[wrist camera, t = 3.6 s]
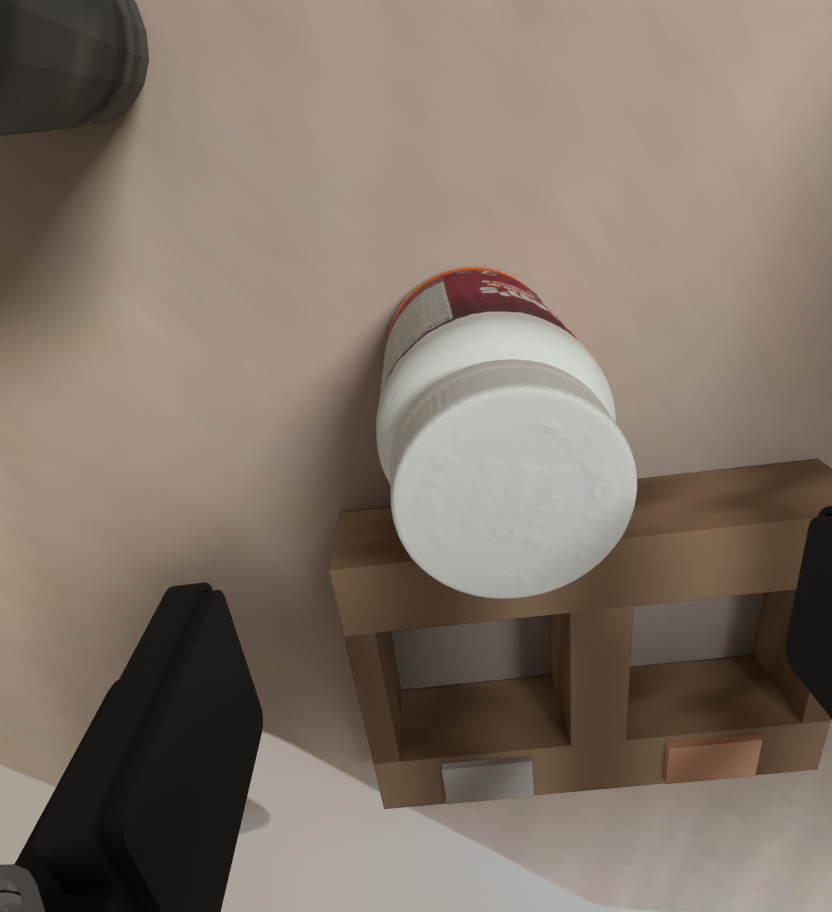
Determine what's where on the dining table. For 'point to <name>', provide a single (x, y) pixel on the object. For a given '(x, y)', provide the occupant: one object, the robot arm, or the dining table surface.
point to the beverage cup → (68, 62)
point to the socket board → (596, 653)
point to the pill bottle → (499, 439)
